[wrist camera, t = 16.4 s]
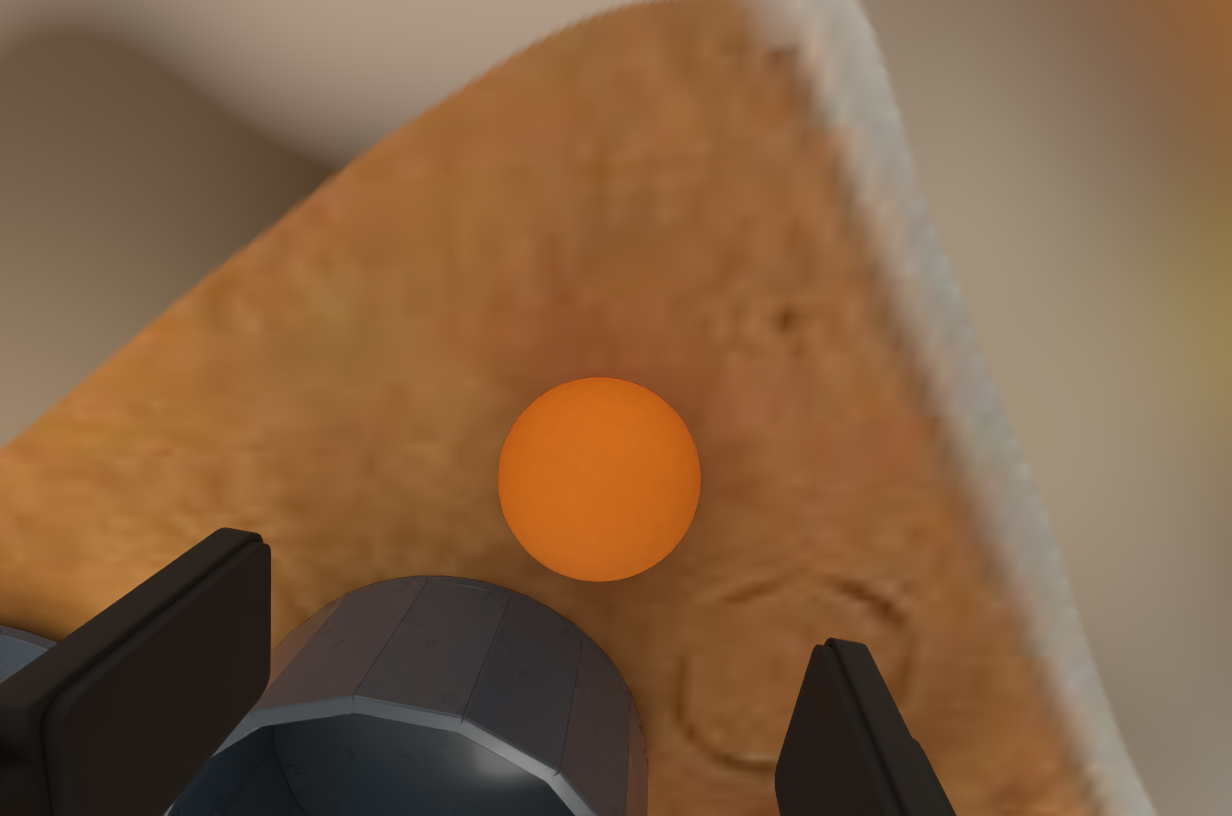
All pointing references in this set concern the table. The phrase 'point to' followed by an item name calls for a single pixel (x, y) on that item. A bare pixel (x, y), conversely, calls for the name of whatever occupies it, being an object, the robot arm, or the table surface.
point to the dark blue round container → (432, 714)
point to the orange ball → (599, 479)
